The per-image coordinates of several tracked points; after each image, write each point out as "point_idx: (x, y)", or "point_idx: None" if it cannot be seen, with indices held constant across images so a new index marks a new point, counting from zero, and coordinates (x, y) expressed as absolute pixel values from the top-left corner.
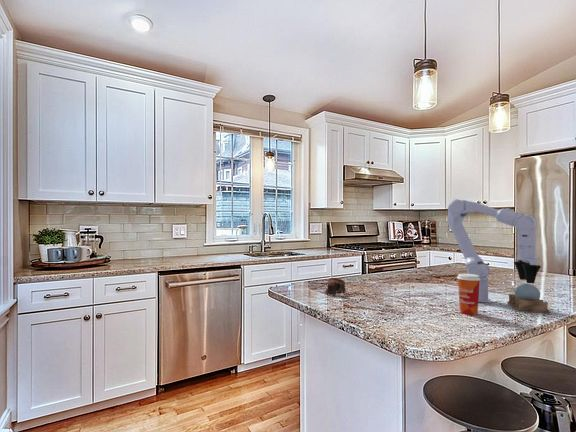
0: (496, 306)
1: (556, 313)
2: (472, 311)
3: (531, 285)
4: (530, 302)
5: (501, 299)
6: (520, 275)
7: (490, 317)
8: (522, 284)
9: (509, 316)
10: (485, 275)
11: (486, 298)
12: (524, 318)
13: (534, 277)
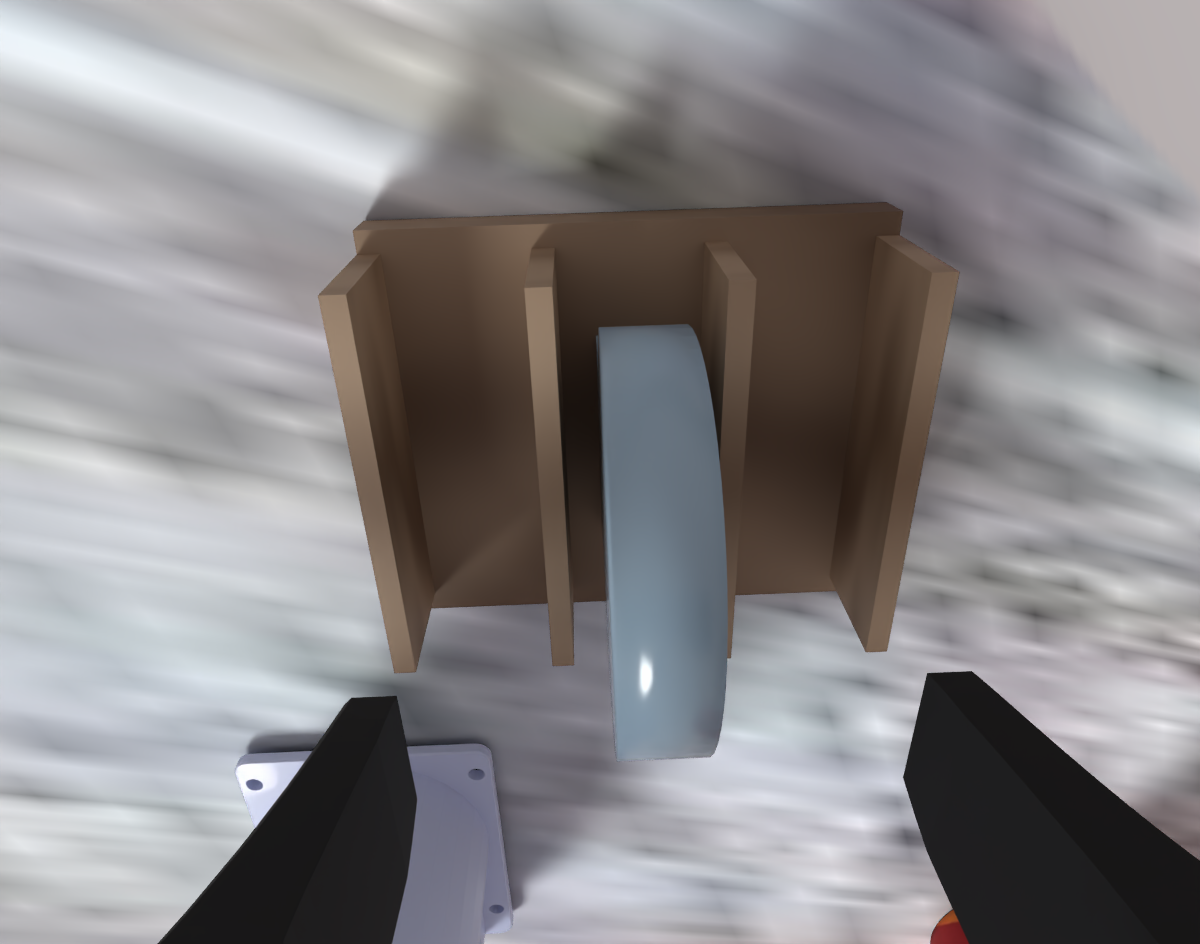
0: None
1: (862, 76)
2: None
3: (720, 602)
4: (901, 508)
5: (147, 600)
6: (393, 911)
7: None
8: (678, 746)
9: (1093, 688)
10: None
11: (449, 814)
12: (1172, 580)
13: (1099, 813)
